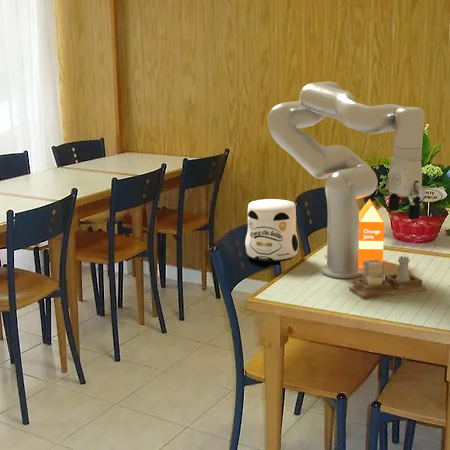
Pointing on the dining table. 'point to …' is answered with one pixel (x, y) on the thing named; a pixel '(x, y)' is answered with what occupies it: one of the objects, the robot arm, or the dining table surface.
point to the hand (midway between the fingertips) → (403, 214)
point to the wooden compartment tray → (382, 282)
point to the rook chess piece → (403, 269)
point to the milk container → (271, 230)
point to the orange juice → (370, 234)
